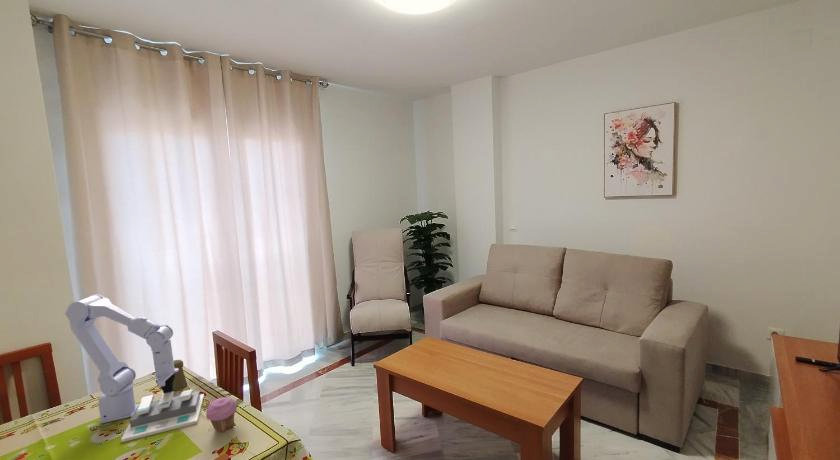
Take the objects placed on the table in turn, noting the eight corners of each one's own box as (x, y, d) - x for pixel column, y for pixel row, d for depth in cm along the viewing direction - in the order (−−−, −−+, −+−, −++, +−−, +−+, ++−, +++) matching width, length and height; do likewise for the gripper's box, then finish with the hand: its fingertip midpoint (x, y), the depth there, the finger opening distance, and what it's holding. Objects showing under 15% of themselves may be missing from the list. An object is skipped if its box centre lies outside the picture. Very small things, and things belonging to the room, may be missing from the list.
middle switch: (158, 412, 128) (157, 405, 127) (163, 398, 135) (162, 393, 135) (169, 409, 129) (168, 403, 129) (174, 396, 136) (173, 390, 136)
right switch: (178, 404, 130) (178, 398, 130) (183, 397, 137) (182, 391, 137) (189, 402, 131) (188, 395, 131) (193, 395, 138) (192, 388, 139)
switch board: (121, 442, 118) (119, 432, 118) (137, 411, 135) (136, 402, 134) (197, 423, 127) (196, 413, 126) (204, 396, 143) (203, 387, 143)
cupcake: (223, 438, 118) (219, 409, 117) (202, 434, 121) (198, 405, 119) (244, 421, 126) (241, 394, 125) (224, 417, 129) (221, 390, 128)
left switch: (137, 417, 126) (136, 411, 125) (143, 402, 133) (142, 396, 132) (149, 415, 127) (147, 409, 126) (154, 399, 134) (153, 394, 133)
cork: (178, 391, 147) (175, 365, 146) (165, 390, 148) (162, 364, 147) (190, 383, 153) (187, 358, 152) (178, 382, 154) (175, 357, 153)
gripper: (172, 366, 128) (177, 403, 130) (180, 349, 142) (184, 382, 144) (148, 371, 126) (153, 408, 128) (158, 353, 139) (163, 387, 141)
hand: (168, 395), depth 135 cm, fingers closed, pressing on middle switch
